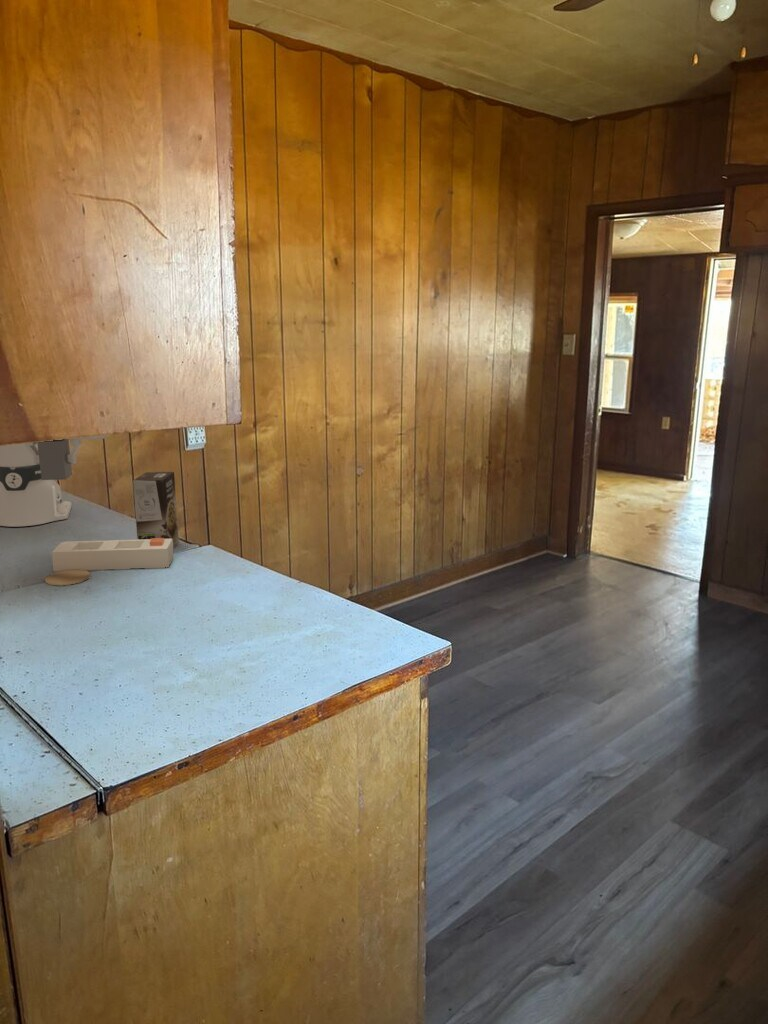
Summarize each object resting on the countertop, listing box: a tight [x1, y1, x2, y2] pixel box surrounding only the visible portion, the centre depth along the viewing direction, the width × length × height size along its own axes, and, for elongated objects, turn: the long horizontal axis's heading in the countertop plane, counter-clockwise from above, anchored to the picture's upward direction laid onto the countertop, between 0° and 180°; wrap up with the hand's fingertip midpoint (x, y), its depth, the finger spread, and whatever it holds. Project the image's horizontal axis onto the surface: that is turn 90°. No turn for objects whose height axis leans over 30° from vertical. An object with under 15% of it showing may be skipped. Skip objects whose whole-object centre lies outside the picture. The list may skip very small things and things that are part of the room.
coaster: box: [44, 570, 91, 587], centre depth 143 cm, size 8×8×1 cm
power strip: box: [51, 538, 175, 573], centre depth 151 cm, size 22×7×5 cm, turn 97°
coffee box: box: [132, 471, 180, 549], centre depth 160 cm, size 9×6×16 cm
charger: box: [37, 439, 73, 481], centre depth 137 cm, size 4×4×7 cm
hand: (55, 463), depth 138 cm, fingers closed on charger, 4 cm apart
